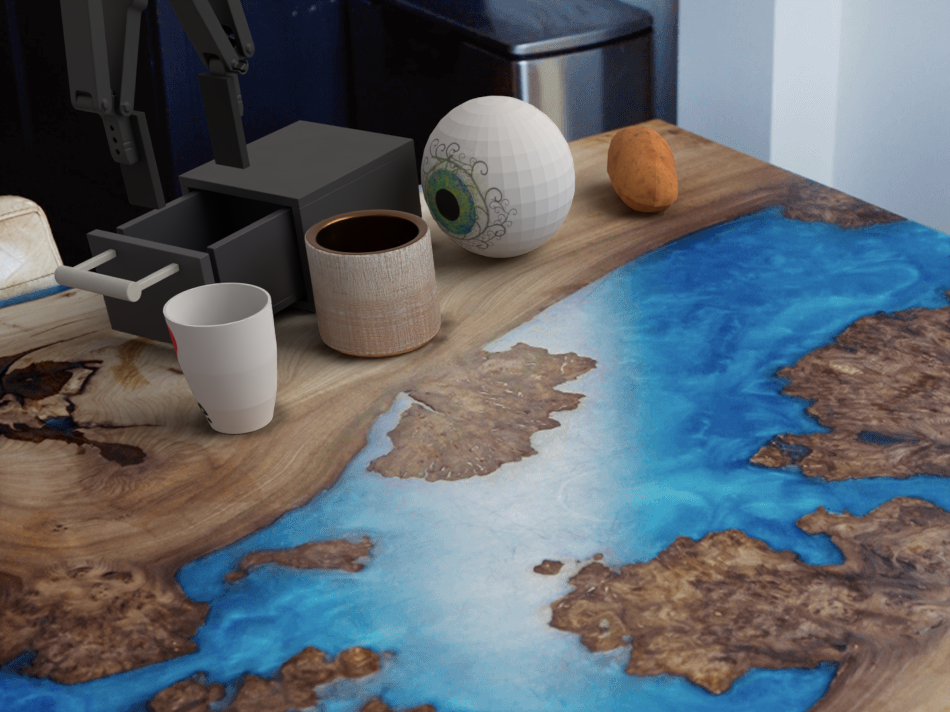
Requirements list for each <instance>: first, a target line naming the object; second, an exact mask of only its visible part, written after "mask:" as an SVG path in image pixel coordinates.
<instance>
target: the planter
mask: <svg viewBox="0 0 950 712" xmlns="http://www.w3.org/2000/svg"><path fill="white" fill-rule="evenodd" d="M305 245H306V251H307V257H308V263H309V269H310V275H311V282H312V288H313V295H314V302H315V308H316V313H315V314H316V321H317V326H318V332H319V335H320V339H321V340H322V342H323V343H324V344H325V345H326V346H327V347H329V348H331V349H333V350H334V351H336V352H339V353H341V354H344V355H347V356H352V357H358V358H371V359H372V358H373V359H374V358H376V359H377V358H387V357H388V358H389V357H395V356H399V355H403V354H407V353H410V352H413V351H415V350H417V349H419V348H421V347H424V346H425V345H427V344H428V343H429V342H430V341H432V339H434V338H435V337H436V336H437V335H438V333H439V332H440V330H441V328H442V327H441V326H442V316H441V308H440V300H439V293H438V287H437V286H438V285H437V277H436V270H435V269H436V268H435V262H434V254H433V245H432V237H431V230H430V225H429V224H428V222H427V221H426V220H425V219H424V218H423V217H422V218H420V217H419V216H416V215H414V214H411V213H407V212H402V211H396V210H382V209H375V210H360V211H353V212H347V213H343V214H339V215H335V216H332V217H329V218H326V219H324V220H322V221H320V222H318V223H316V224H315V225H313V226H312V227H311V228H310V229H309V230H308V231H307V232H306V234H305Z"/></svg>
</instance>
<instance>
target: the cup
mask: <svg viewBox="0 0 950 712" xmlns="http://www.w3.org/2000/svg"><path fill="white" fill-rule="evenodd" d="M163 313H164V316H165V319H166V323H167V326H168V329H169V333H170V336H171V339H172V342H173V345H172V347H173V349H174V352H175V356H176V358H177V362H178V365H179V366H180V369H181V372H182V374H183V376H184V378H185V380H186V383H187V385H188V388H189V390H190V392H191V394H192V397H193V399H194V401H195V403H196V405H197V406H198V408H199V409H200V412H201V413H202V414H203V416H204V417H205V419H206V421H207V422H208V424H209V425H210V427H211V428H212V429H213V430H214V431H216V432H219V433H222V434H227V435H241V434H247V433H252V432H255V431H259V430H261V429H263V428H264V427H266V426H267V425H268V424H270V422H272V420H273V417H274V412H275V404H276V397H277V391H278V347H277V345H278V344H277V338H276V330H275V321H274V315H273V312H272V304H271V297H270V295H269V293H268V292H267V291H265V290H264V289H262V288H260V287H257V286H254V285H250V284H243V283H217V284H210V285H204V286H200V287H196V288H192V289H189V290H186V291H184V292H182V293H179V294H178V295H176V296H174V297H173V298H171V299H170V300H169V301H168V302H167V303H166V304H165V306H164V308H163Z"/></svg>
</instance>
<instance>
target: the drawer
mask: <svg viewBox="0 0 950 712" xmlns="http://www.w3.org/2000/svg"><path fill="white" fill-rule="evenodd" d="M165 204H166V206H165V207H163V208H161V209H159V210H157V209H152V210H150V211H147V212H146V213H144V214H141V215H140V216H138V217H136V218H133V219H131V220H129V221H127V222H125V223H123V224H120V225H119V226H117V227H116V228H115V230H116V233H114V232H111V231H106V230H101V229H94V230H92V231H90V232H88V233H86V238H87V241H88V245H89V249H90V253H91V256H92V257H91V258H89V259H87V260H85V261H83V262H81V263H78V264H77V265H75V266H73V267H72V266H69V265H63V264H61V265H59V266H57V267H56V268H55V270H54V274H53V275H54V276H53V277H54V280H55V282H56V283H57V284H58V285H60V286H64V287H69V288H72V289H77V290H81V291H85V292H90V293H94V294H97V295H101V296H102V299H103V301H104V305H105V308H106V313H107V316H108V321H109V324H110V327H111V330H113V331H117V332H122V333H125V334H128V335H133V336H137V337H140V338H145V339H149V340H152V341H157V342H161V343H165V344H169V345H172V346H173V342H172V339H171V336H170V333H169V329H168V326H167V323H166V319H165V316H164V313H163V308H164V306H165V304H166V303H167V302H168V301H169V300H170V299H171V298H173V297H174V296H176V295H178V294H179V293H182V292H184V291H186V290H189V289H192V288H196V287H200V286H204V285H210V284H217V283H243V284H250V285H254V286H257V287H260V288H262V289H264V290H265V291H267V292H268V293H269V295H270V297H271V304H272V312H273V316H274V315H275V314H278V313H279V312H281V311H282V310H284V309H286V308H287V307H289V305H291V304H292V303H294V302H296V301H297V300H299V299H301V298H302V297H304V296H306V295H307V292H306V286H305V281H304V275H303V269H302V263H301V258H300V252H299V246H298V240H297V234H296V229H295V223H294V217H293V211H292V207H289V206H284V205H278V204H273V203H268V202H263V201H258V200H253V199H248V198H243V197H238V196H232V195H227V194H222V193H217V192H212V191H207V190H202V189H197V190H195V191H192V192H190V193H188V194H186V195H184V196H183V195H182V196H179V197H178V198H176V199H173V200H172V201H170V202H167V203H165ZM94 268H95V271H96V272H94V271H90V270H92V269H94Z"/></svg>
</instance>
